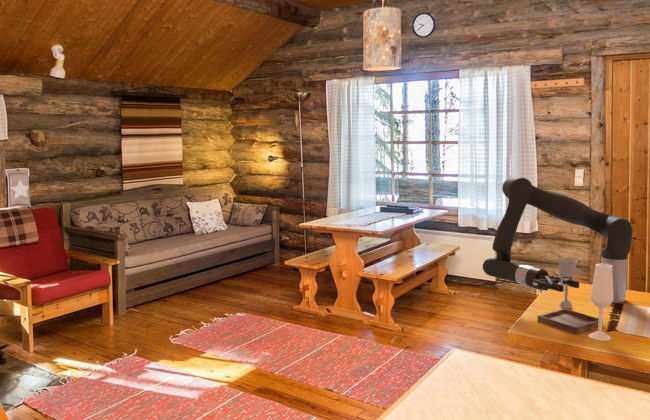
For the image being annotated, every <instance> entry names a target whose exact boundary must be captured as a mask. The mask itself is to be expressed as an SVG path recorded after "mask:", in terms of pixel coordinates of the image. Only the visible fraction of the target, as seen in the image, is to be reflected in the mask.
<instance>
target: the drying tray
mask: <svg viewBox="0 0 650 420" xmlns="http://www.w3.org/2000/svg"><path fill="white" fill-rule="evenodd" d="M598 321H599V317H596V316H591V315H589V314H585V313H581V312H577V311H574V310H571V309H569V308H560V309H557V310H554V311H550V312H546V313H542V314H539V315H537V323H539V324H543V325H545V326H549V327H552V328H555V329H558V330H561V331H564V332H567V333H570V334H573V335H578V334H581V333H584V332H588V331H591V330H594V329H598ZM603 323H604V320H603V321H602V326H603Z"/></svg>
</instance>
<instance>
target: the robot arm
mask: <svg viewBox="0 0 650 420" xmlns="http://www.w3.org/2000/svg"><path fill="white" fill-rule="evenodd" d="M501 188H502V192H503V194H504V196H505V197H506V198H507V199H508V203H507V206H506V210H505V213H504V215H503V218H502V219H501V221H500V223H499V225H498V227H497V229H496V231H495V235H494V239H493V242H492V250H493V252H495V253H496V257H488V258H486V259H485V260H484V261H483V262H482V270H483V272H484V273H485V274H486V275H487V276H489V277H494V278H499V279H503V280H506V281H507V280H508V281H510V282H514V283H517V284H520V285H522V286H525V287H529V288H531V289H534V290H535V289H536V290H538V291H539V290H541V291H542V290H543V291H556V292H559V293H563V292H565V290H564V289H565V286H568V287H570V288H575V289H579V288H580V282H579V281H577V280H574V279H573V280H572V278H571V277H567V276H562V275H560V274H559V273H558V274H555V275H554V274H549V273H548V271H547V270H546V269H544V268H540V267H535V266H532V265H529V264H528V265H527V264H521V263H517V262H511V261H512V260H511V259H512V258H511V257H512V256H511V255H512V252H511V251H512V248H513V244H514V240H515V238H516V237H515V236H516V234H517V233H516V232H517V230H518V226H519V224H520V221H521V218H522V216H523V214H524V211H525V209H526V206H527V205H529V206H531V207H534V208H536V209H538V210H540V211H542V212H543V213H546V214H548V215H550V216H552V217H554V218H555V219H558V220H561V221H564V222H567V223H570V224H572V225H577V226H582V227H586V228H588V229H590V230H592V231H593V232H596V233H598V234H600V235H601V236H603V237H604V238H606V239H607V240H606V241H607V242H606V247H604V248H603V249H601V252H600V253H601V255H600V257H601V258H600V264H609V265H612V274H613V299H614V300H613V302H612V303H611V304H622V303H624V302H625V300H627V299H626V298H627V297H626V295H627V283H628V277H627V272H628V257H629V254H630V252H631V249H632V239H633V226H632V223H631V221H629V220H628V219H626V218H623V217H620V216H616V215H611V214H607V213H605V212H601V211H598V210H595V209H593V208H591V207H589V206H588V205H586V204H585V203H584V202H581V201H579V200H578V199H575V198H573V197H570V196H568V195H565V194H562V193H558V192H556V191H550V190H546V189H541V188H539V187H537V186H534V185H533V184H532V182H531V181H530V180H529V179H528V178H526V177H524V176H523V177H521V176H512V177H509V178H507V179H506V180H504V182H503V183H502V187H501Z"/></svg>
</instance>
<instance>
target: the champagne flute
mask: <svg viewBox="0 0 650 420" xmlns="http://www.w3.org/2000/svg"><path fill="white" fill-rule="evenodd" d="M590 300H591V301H592V303H593V304H594V306H596V308H598V318H599V321H598V327H597V330H596V331H594V332H591V333H589V334H588V338H591V339H592V340H596V341H601V342H603V341H604V342H605V341H610V340H611V336H609V335H608V334H606V333H605V332H603V325H602V321H603V322H604V318H603V317H604V316H603V315H604V309H607V307H609V306H610V305H611V304H613V303H612V302H613V300H614V299H613V274H612V265H609V264H601V263H596V264H595V267H594V274H593V279H592V285H591V292H590Z"/></svg>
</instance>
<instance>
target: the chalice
mask: <svg viewBox="0 0 650 420" xmlns="http://www.w3.org/2000/svg"><path fill="white" fill-rule="evenodd" d="M557 260H558V262H559V266H558V267H559V268H558V275H562V276H567V277H571V278H572V280H573V281H574V278H575V277H576V272H577V264H578V260H577V259H575V258H568V257H567V258H565V257H563V258H558V259H557ZM569 290H570V289H569V286H564V293H563V295H564V298H563V299H561V300H560V302H559V304H558V308H559V307H560V308H561V307H562V308H561V309H564V308H565V309H572V308H573V304H572V302H571V300H569V299H568V295H569V292H568V291H569Z"/></svg>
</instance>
